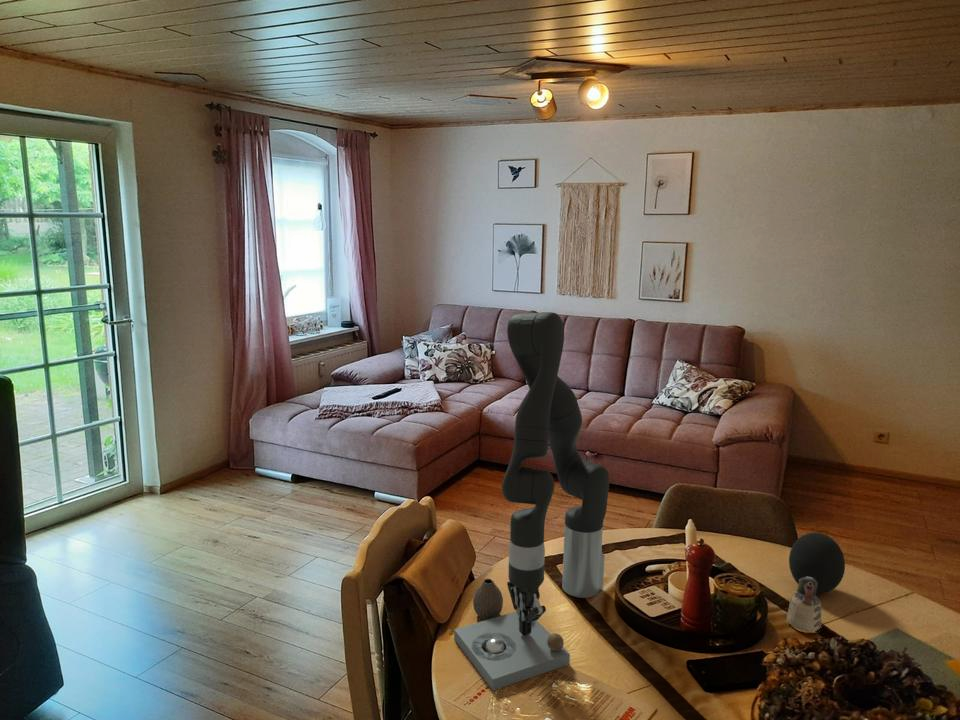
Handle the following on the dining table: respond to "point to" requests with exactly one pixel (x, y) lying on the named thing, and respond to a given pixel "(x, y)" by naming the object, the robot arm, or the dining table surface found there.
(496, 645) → the steel ball
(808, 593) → the figurine
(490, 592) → the vase
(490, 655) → the hole plate
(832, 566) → the decorative egg
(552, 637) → the walnut ball
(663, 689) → the dining table surface
